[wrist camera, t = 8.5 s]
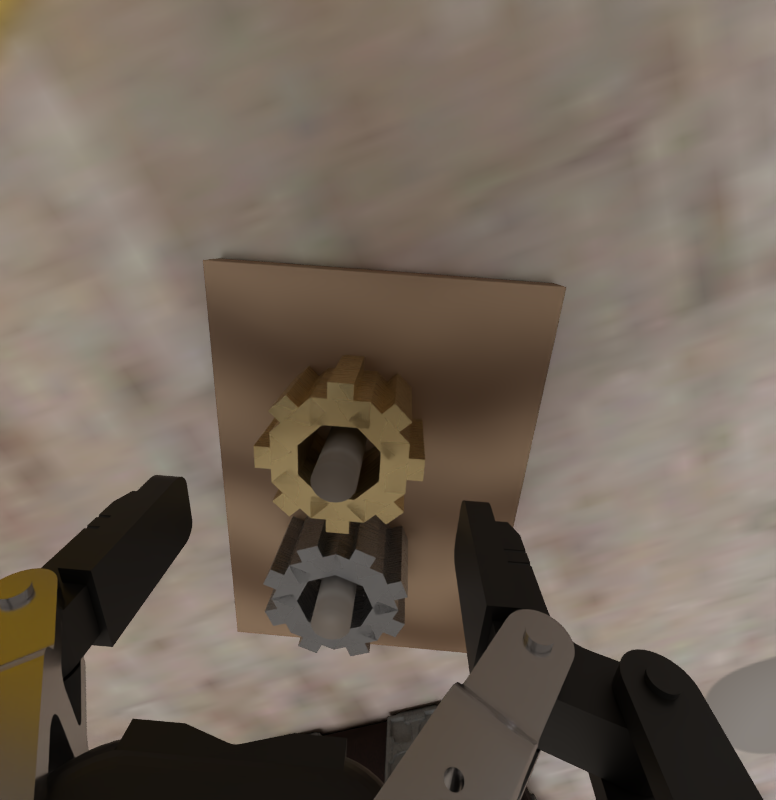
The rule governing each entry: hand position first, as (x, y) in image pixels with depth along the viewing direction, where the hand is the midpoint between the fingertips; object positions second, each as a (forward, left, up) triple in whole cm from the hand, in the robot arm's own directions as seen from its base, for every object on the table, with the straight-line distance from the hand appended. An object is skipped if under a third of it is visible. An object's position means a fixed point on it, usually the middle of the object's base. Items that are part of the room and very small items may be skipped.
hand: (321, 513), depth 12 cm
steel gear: (+7, 0, -7) cm, 10 cm away
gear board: (+4, +1, -8) cm, 9 cm away
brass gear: (0, 0, -7) cm, 7 cm away
